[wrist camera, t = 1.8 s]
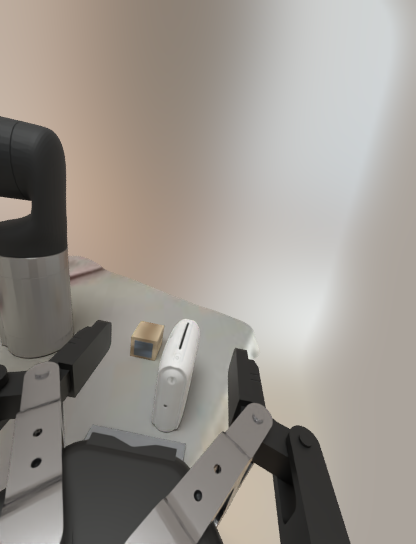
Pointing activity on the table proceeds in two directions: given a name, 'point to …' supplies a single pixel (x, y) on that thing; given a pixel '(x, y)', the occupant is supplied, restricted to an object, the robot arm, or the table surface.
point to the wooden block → (146, 340)
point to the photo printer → (175, 375)
